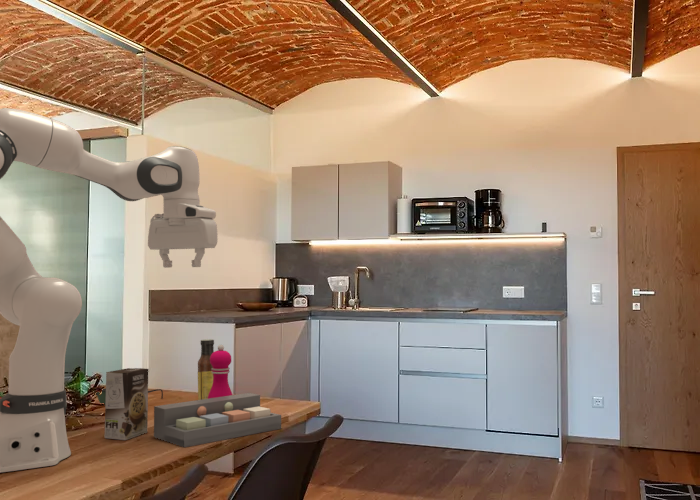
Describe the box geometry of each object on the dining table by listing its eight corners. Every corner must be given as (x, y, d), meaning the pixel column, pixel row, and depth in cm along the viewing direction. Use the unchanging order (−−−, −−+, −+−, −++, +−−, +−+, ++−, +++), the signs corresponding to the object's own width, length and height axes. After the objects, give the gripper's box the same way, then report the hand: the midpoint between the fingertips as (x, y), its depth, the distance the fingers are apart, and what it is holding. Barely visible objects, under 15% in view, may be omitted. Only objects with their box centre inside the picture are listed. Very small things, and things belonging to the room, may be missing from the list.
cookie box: (126, 440, 166) (127, 372, 167) (103, 438, 168) (104, 371, 169) (148, 432, 175) (149, 368, 175) (127, 430, 177) (127, 367, 177)
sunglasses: (171, 400, 223) (171, 384, 223) (137, 409, 207) (138, 392, 207) (128, 397, 228) (128, 381, 229) (92, 406, 213) (93, 389, 213)
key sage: (187, 431, 162) (187, 422, 162) (175, 428, 166) (176, 419, 166) (205, 428, 166) (205, 419, 166) (194, 425, 169) (194, 416, 169)
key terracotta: (233, 423, 171) (233, 415, 172) (221, 420, 175) (221, 412, 175) (249, 420, 175) (249, 412, 175) (238, 417, 178) (238, 409, 179)
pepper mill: (227, 419, 191) (228, 346, 192) (202, 418, 192) (203, 345, 193) (237, 414, 198) (237, 343, 199) (213, 413, 200) (213, 343, 200)
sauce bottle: (223, 404, 213) (223, 339, 214) (208, 407, 208) (209, 341, 209) (207, 402, 217) (208, 338, 217) (192, 405, 211) (193, 339, 212)
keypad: (184, 447, 159) (184, 414, 160) (153, 437, 169) (154, 406, 170) (281, 428, 179) (281, 399, 180) (248, 420, 189) (249, 392, 190)
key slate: (210, 427, 167) (211, 418, 167) (199, 424, 170) (199, 415, 171) (228, 424, 170) (228, 416, 170) (216, 421, 174) (216, 413, 174)
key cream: (254, 419, 176) (254, 411, 176) (243, 416, 180) (243, 408, 180) (270, 416, 179) (270, 409, 180) (258, 414, 183) (258, 406, 183)
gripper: (141, 213, 177) (142, 267, 176) (204, 209, 167) (204, 266, 166) (159, 214, 182) (160, 267, 182) (221, 211, 172) (221, 266, 172)
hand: (181, 267), depth 174 cm, fingers open, 8 cm apart
